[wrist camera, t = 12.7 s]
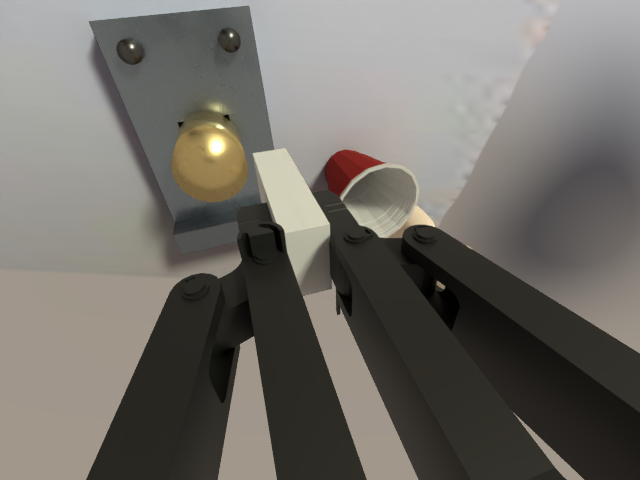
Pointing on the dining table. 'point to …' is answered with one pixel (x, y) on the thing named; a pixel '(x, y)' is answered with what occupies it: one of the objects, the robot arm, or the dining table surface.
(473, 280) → the robot arm
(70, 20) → the dining table surface
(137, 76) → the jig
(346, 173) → the plastic cup
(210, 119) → the golden knob
